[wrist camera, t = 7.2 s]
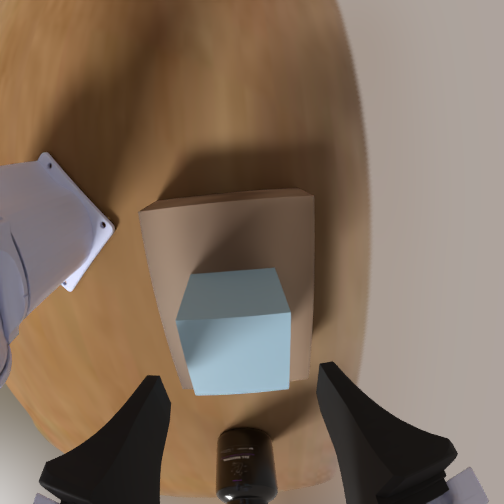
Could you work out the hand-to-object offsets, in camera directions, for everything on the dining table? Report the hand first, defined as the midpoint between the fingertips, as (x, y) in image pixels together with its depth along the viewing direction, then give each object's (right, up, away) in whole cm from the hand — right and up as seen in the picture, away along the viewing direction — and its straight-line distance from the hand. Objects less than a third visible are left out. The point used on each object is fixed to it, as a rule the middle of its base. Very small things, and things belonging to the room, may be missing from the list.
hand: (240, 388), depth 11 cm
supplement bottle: (-1, -18, +17) cm, 25 cm away
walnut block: (-1, +4, +10) cm, 10 cm away
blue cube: (-1, +3, +6) cm, 6 cm away
